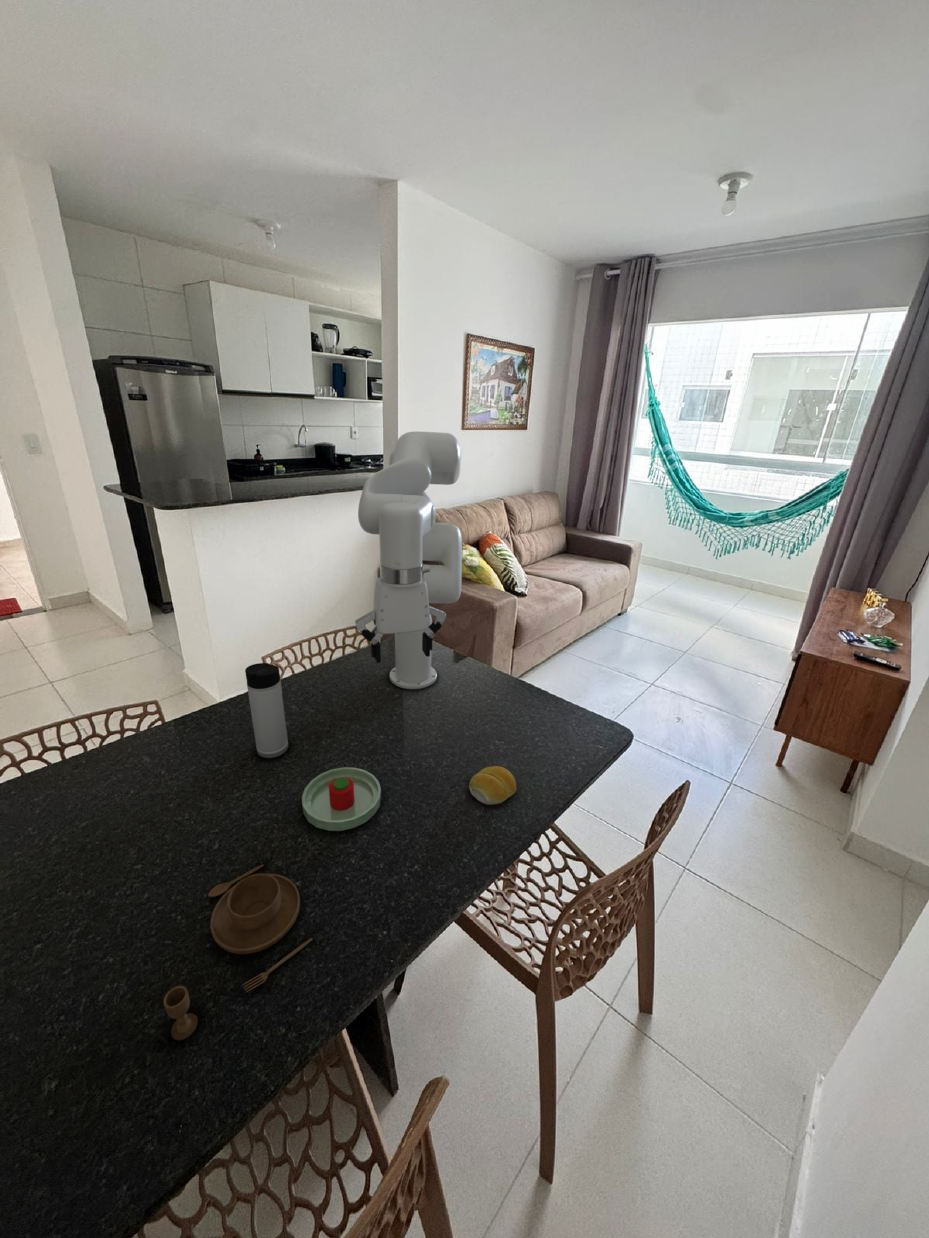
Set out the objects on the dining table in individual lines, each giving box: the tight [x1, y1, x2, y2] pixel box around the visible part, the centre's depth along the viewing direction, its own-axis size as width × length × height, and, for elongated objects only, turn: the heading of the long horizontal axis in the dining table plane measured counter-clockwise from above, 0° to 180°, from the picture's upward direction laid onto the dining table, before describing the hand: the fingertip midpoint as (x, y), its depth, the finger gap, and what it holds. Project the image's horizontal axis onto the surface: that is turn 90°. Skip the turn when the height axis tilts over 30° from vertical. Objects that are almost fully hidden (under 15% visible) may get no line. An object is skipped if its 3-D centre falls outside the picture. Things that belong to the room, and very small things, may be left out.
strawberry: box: [329, 777, 355, 811], centre depth 93 cm, size 4×4×5 cm
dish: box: [301, 766, 382, 832], centre depth 94 cm, size 14×14×3 cm
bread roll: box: [468, 765, 517, 806], centre depth 99 cm, size 8×9×4 cm
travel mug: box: [244, 662, 289, 759], centre depth 104 cm, size 6×7×20 cm
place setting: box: [163, 864, 313, 1041], centre depth 70 cm, size 18×20×6 cm
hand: (402, 656), depth 99 cm, fingers open, 9 cm apart
